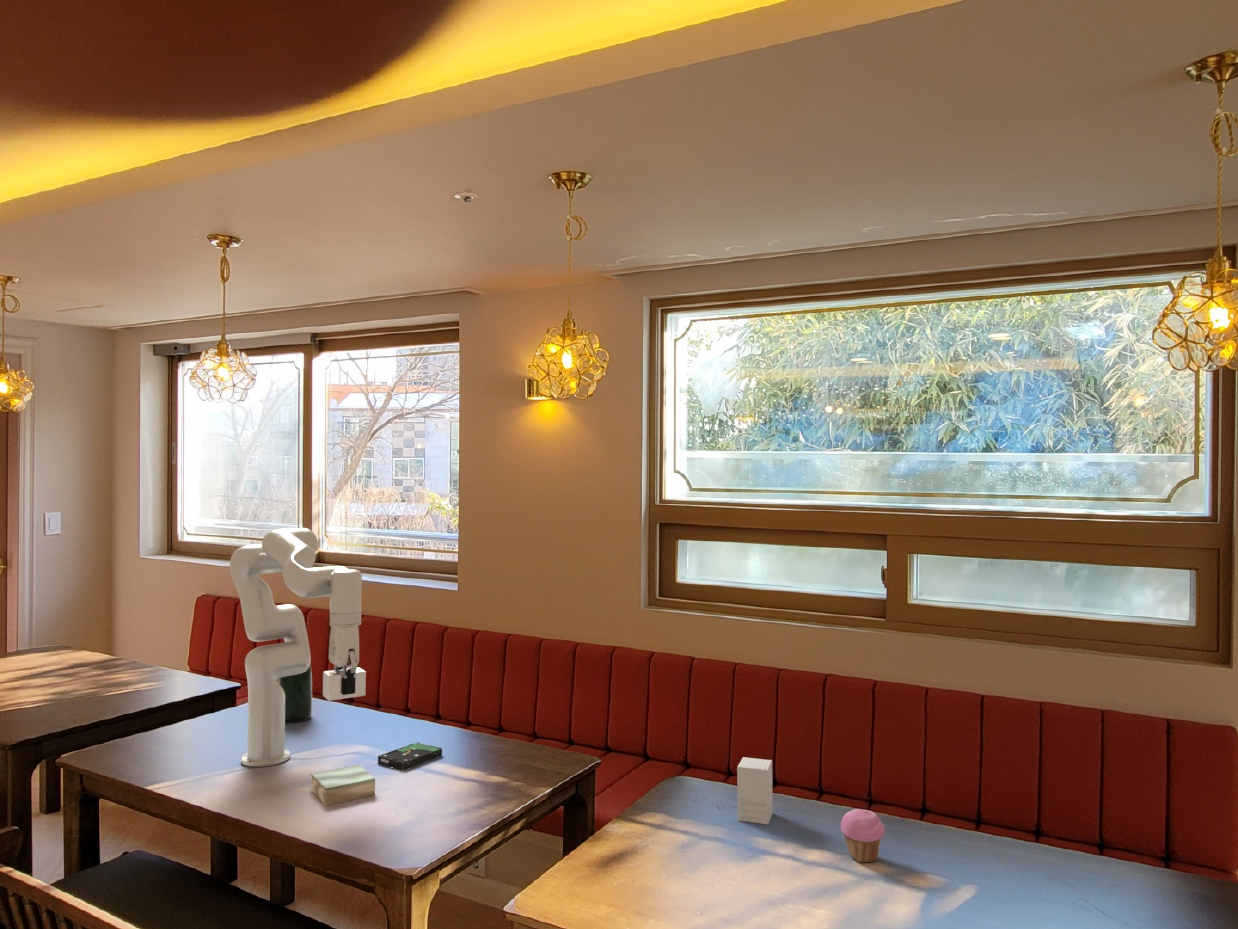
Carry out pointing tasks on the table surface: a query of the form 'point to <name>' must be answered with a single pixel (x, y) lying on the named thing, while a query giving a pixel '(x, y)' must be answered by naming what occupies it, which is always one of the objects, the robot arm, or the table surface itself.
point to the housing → (334, 684)
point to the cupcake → (862, 834)
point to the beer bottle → (297, 696)
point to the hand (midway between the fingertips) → (344, 690)
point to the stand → (343, 784)
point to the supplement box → (755, 790)
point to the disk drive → (409, 756)
